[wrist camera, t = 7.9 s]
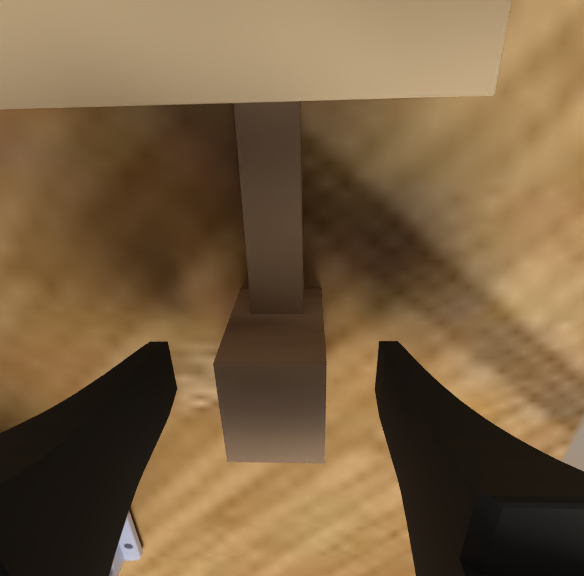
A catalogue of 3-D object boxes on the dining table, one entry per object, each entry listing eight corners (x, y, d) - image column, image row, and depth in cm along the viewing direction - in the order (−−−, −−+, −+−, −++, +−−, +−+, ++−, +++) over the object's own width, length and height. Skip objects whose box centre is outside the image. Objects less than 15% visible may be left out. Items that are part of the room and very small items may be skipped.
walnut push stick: (341, 370, 17) (352, 463, 12) (228, 369, 17) (200, 461, 13) (360, -111, 10) (399, -277, 6) (169, -101, 10) (65, -253, 6)
